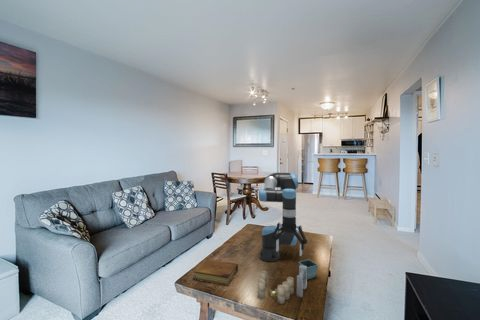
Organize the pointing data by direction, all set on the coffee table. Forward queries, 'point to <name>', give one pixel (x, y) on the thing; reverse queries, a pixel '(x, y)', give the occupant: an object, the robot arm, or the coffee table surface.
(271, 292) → the brass round knob
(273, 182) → the robot arm
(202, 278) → the diary
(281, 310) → the coffee table surface
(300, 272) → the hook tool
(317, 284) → the coffee table surface
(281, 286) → the posts
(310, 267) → the flower pot
